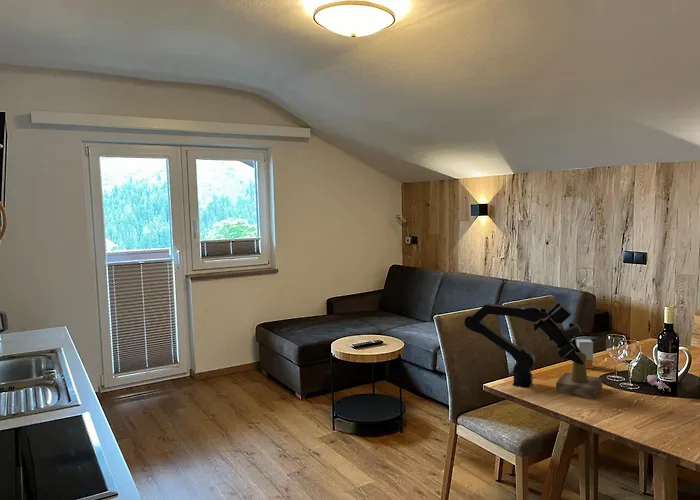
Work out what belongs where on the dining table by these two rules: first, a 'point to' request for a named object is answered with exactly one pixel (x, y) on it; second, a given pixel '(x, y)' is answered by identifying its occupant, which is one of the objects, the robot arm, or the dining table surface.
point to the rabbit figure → (653, 380)
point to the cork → (579, 370)
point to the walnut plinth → (579, 386)
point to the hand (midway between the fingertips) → (583, 360)
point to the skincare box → (586, 351)
